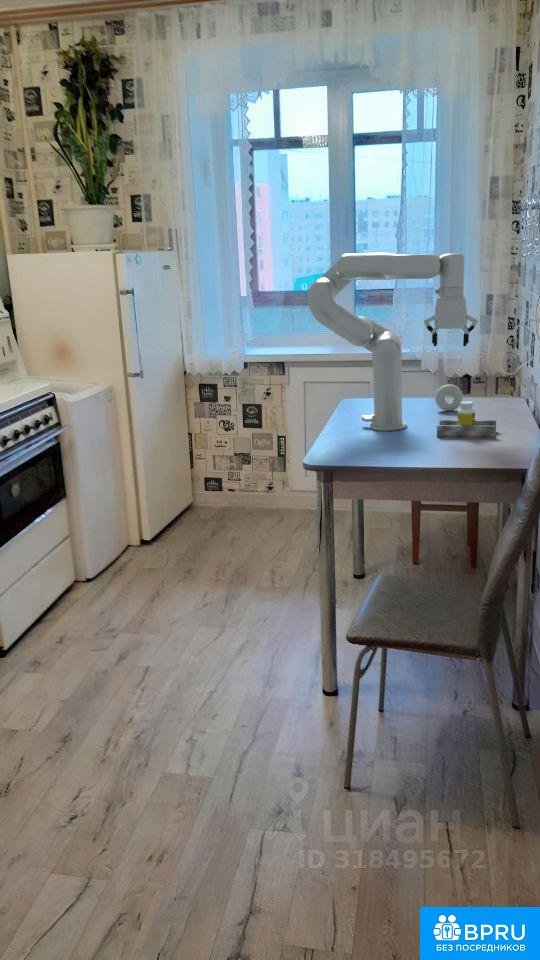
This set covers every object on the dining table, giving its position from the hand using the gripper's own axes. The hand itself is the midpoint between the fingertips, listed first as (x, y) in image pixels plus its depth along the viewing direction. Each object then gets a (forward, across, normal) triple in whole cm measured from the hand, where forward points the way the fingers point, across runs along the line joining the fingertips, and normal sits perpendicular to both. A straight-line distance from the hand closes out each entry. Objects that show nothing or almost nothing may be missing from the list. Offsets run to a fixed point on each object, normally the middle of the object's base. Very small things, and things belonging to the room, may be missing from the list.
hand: (450, 345), depth 255 cm
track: (+27, +8, -12) cm, 31 cm away
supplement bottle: (+26, +8, -12) cm, 30 cm away
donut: (+27, -3, +24) cm, 36 cm away
